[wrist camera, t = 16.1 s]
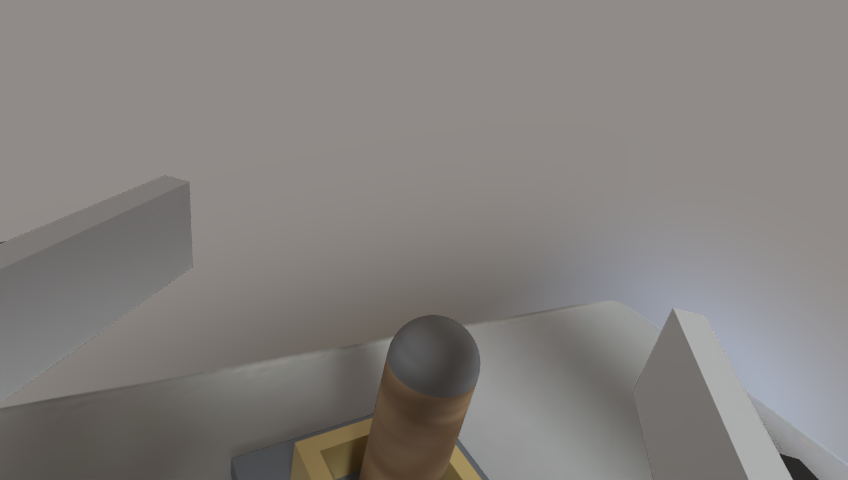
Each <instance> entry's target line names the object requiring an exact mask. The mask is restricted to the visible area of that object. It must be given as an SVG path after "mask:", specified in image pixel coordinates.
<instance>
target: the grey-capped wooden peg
mask: <svg viewBox="0 0 848 480" xmlns="http://www.w3.org/2000/svg"><path fill="white" fill-rule="evenodd" d="M479 372H480V355H479V351H478V348H477V345H476V343H475V341H474V339H473V337H472V336H471V334H470V333H469V332H468V331H467V329H465V328H464V327H463V326H462V325H461V324H459V323H458V322H456V321H455V320H453V319H450V318H447V317H443V316H437V315H428V316H422V317H419V318H416V319H414V320H412V321H410V322H408V323H407V324H406V325H405V326H403V327H402V328H401V329H400V330H399V331H398V332H397V334H396V335H395V336H394V338H393V340H392V342H391V344H390V347H389V350H388V353H387V358H386V362H385V366H384V371H383V375H382V380H381V384H380V388H379V393H378V397H377V402H376V406H375V410H374V415H373V419H372V424H371V428H370V432H369V437H368V441H367V445H366V450H365V454H364V459H363V463H362V467H361V472H360V476H359V480H443V479H444V476H445V474H446V471H447V468H448V465H449V462H450V459H451V456H452V453H453V450H454V447H455V444H456V441H457V438H458V436H459V433H460V430H461V427H462V424H463V421H464V418H465V415H466V412H467V409H468V406H469V403H470V400H471V397H472V395H473V392H474V389H475V386H476V383H477V380H478V376H479Z"/></svg>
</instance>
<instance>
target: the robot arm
mask: <svg viewBox="0 0 848 480" xmlns="http://www.w3.org/2000/svg"><path fill="white" fill-rule="evenodd" d="M189 187H190V186H189V182H188V181H184V180H180V179H176V178H173V177H168V176H162V177H160V178H157V179H155V180H153V181H150V182H148V183H145V184H143V185H141V186H138V187H136V188H133V189H131V190H128V191H126V192H124V193H121V194H119V195H117V196H114V197H112V198H109V199H107V200H104V201H102V202H100V203H97V204H95V205H93V206H90V207H88V208H86V209H83V210H81V211H78V212H76V213H73V214H71V215H68V216H66V217H64V218H61V219H59V220H56V221H54V222H52V223H49V224H47V225H44V226H42V227H40V228H37V229H35V230H33V231H30V232H27V233H25V234H23V235H20V236H18V237H15V238H13V239H11V240H8V241H5V242H1V243H0V403H1V402H3V401H4V400H6V399H7V398H9V397H10V396H11V395H13V394H14V393H16V392H17V391H18V390H20V389H21V388H22V387H24V386H25V385H27V384H28V383H30V382H31V381H32V380H34V379H35V378H37V377H38V376H40V375H41V374H42V373H44V372H45V371H47V370H48V369H49V368H51V367H52V366H54V365H55V364H57V363H58V362H59V361H61V360H62V359H64V358H65V357H66V356H68V355H69V354H71V353H72V352H73V351H75V350H76V349H78V348H79V347H81V346H82V345H83V344H85V343H86V342H88V341H89V340H90V339H92V338H93V337H94V336H96V335H98V334H99V333H100V332H102V331H103V330H104V329H106V328H107V327H109V326H110V325H112V324H113V323H114V322H116V321H117V320H118V319H120V318H122V317H123V316H124V315H126V314H127V313H128V312H130V311H131V310H133V309H134V308H135V307H137V306H138V305H140V304H141V303H143V302H144V301H145V300H147V299H148V298H150V297H151V296H152V295H154V294H155V293H157V292H158V291H160V290H161V289H162V288H163V287H165V286H167V285H168V284H169V283H171V282H172V281H174V280H175V279H176V278H178V277H179V276H181V275H182V274H184V273H185V272H186V271H188V270H189V269H191V268H192V267H193V260H192V237H191V236H192V235H191V212H190V190H189V189H190V188H189ZM633 395H634V399H635V404H636V408H637V412H638V417H639V421H640V425H641V430H642V434H643V438H644V442H645V447H646V451H647V455H648V460H649V464H650V468H651V472H652V477H653V480H818V479H817V478H816V477H815V476H814V474H813V473H812V472H811V471H810V470H809V469H808V468H807V467H806V466H805V465H804V464H803V463H802V462H801V461H800V460H799V459H796V458H792V457H789V456H785V455H782V454H779V453H778V451H777V449H776V447H775V445H774V444H773V442H772V440H771V438H770V436H769V434H768V432H767V430H766V429H765V427H764V425H763V423H762V421H761V419H760V417H759V416H758V414H757V412H756V410H755V408H754V406H753V404H752V402H751V401H750V399H749V397H748V395H747V393H746V391H745V389H744V387H743V386H742V384H741V382H740V380H739V378H738V376H737V374H736V373H735V371H734V369H733V367H732V365H731V364H730V361H729V359H728V358H727V356H726V354H725V352H724V350H723V348H722V346H721V345H720V343H719V341H718V339H717V337H716V335H715V333H714V331H713V329H712V328H711V326H710V324H709V322H708V320H707V318H706V316H703V315H700V314H696V313H692V312H688V311H684V310H680V309H677V308H673V309H672V311H671V313H670V315H669V317H668V319H667V321H666V323H665V325H664V327H663V329H662V332H661V334H660V336H659V338H658V340H657V342H656V344H655V346H654V348H653V350H652V352H651V354H650V357H649V359H648V361H647V363H646V365H645V367H644V369H643V371H642V373H641V375H640V377H639V379H638V382H637V384H636V386H635V388H634V390H633Z"/></svg>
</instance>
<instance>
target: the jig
mask: <svg viewBox="0 0 848 480" xmlns="http://www.w3.org/2000/svg"><path fill="white" fill-rule="evenodd" d="M373 415H374V414H371V415H368V416H365V417H362V418H359V419H355V420H352V421H349V422H346V423H343V424H340V425H336V426H333V427H330V428H327V429H324V430H321V431H317V432H314V433H311V434H308V435H305V436H302V437H298V438H295V439H292V440H289V441H286V442H283V443H279V444H276V445H273V446H270V447H267V448H264V449H260V450H257V451H254V452H251V453H248V454H245V455H241V456H238V457H235V458H232V462H231V475H232V478H233V480H359V476H360V472H361V467H362V463H363V459H364V454H365V450H366V445H367V441H368V437H369V432H370V428H371V424H372V419H373ZM443 480H489V479H488V478H487V476H486V475H485V474H484V473H483V471H482V470H481V469H480V467H479V466H478V465H477V463H476V462H475V461H474V459H473V458H472V457H471V455H470V454H469V453H468V451H467V450H466V449H465V447H464V446H463V445H462V443H461V442H460V441H459V440H458V438H457V441H456V444H455V447H454V450H453V453H452V456H451V459H450V462H449V465H448V468H447V471H446V474H445V476H444V479H443Z"/></svg>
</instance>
